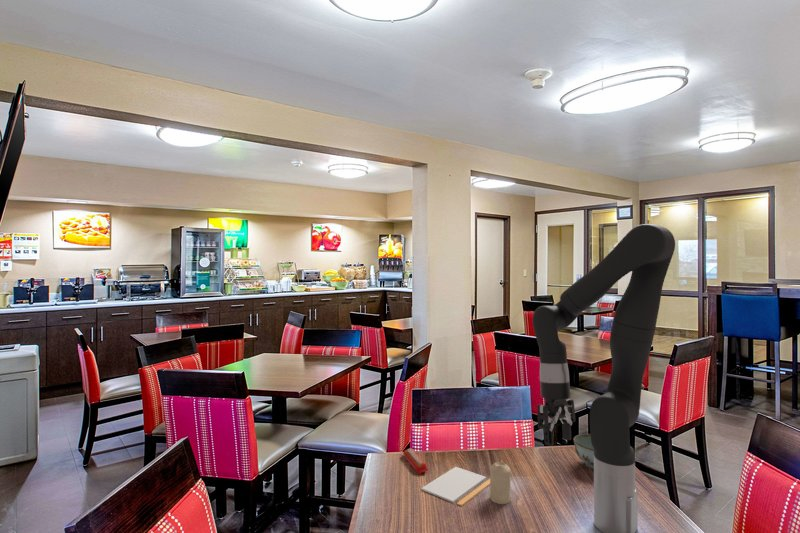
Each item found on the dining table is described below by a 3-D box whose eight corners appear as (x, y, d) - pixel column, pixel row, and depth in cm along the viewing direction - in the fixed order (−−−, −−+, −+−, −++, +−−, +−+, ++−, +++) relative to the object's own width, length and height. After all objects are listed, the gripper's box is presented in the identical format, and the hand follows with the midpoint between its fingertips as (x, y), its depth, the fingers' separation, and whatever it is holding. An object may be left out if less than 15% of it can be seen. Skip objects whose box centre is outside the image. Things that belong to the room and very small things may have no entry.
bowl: (565, 465, 145) (565, 440, 145) (585, 453, 154) (584, 430, 154) (607, 480, 135) (607, 454, 135) (626, 467, 144) (626, 442, 144)
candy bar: (401, 455, 154) (401, 447, 154) (412, 454, 155) (411, 445, 155) (418, 476, 139) (418, 467, 139) (429, 475, 140) (429, 465, 140)
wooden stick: (494, 481, 135) (494, 480, 135) (461, 506, 121) (461, 504, 121) (489, 479, 136) (489, 478, 136) (457, 504, 122) (457, 502, 122)
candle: (510, 505, 121) (510, 468, 121) (490, 503, 122) (490, 467, 122) (510, 495, 127) (510, 459, 127) (490, 493, 128) (490, 458, 128)
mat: (486, 478, 136) (486, 476, 136) (453, 502, 123) (453, 501, 123) (455, 468, 144) (455, 466, 144) (421, 489, 130) (421, 488, 130)
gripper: (552, 383, 113) (556, 450, 111) (581, 378, 122) (585, 440, 120) (526, 381, 119) (530, 444, 117) (556, 376, 128) (560, 435, 126)
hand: (558, 442), depth 119 cm, fingers open, 8 cm apart
